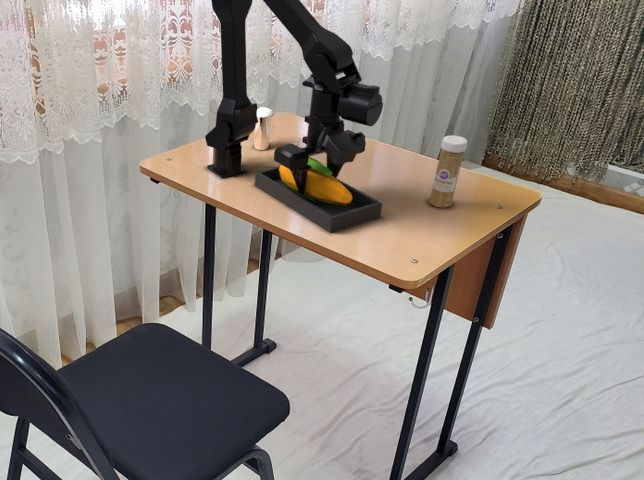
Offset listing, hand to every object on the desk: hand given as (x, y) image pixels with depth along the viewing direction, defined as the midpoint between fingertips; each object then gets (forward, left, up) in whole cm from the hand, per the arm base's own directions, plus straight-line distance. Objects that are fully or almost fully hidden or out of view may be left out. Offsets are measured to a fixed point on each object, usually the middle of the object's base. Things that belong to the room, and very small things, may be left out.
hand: (315, 189), depth 148 cm
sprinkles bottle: (+14, +21, -2) cm, 25 cm away
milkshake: (-29, +7, -2) cm, 30 cm away
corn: (0, 0, -2) cm, 2 cm away
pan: (0, 0, -2) cm, 2 cm away
